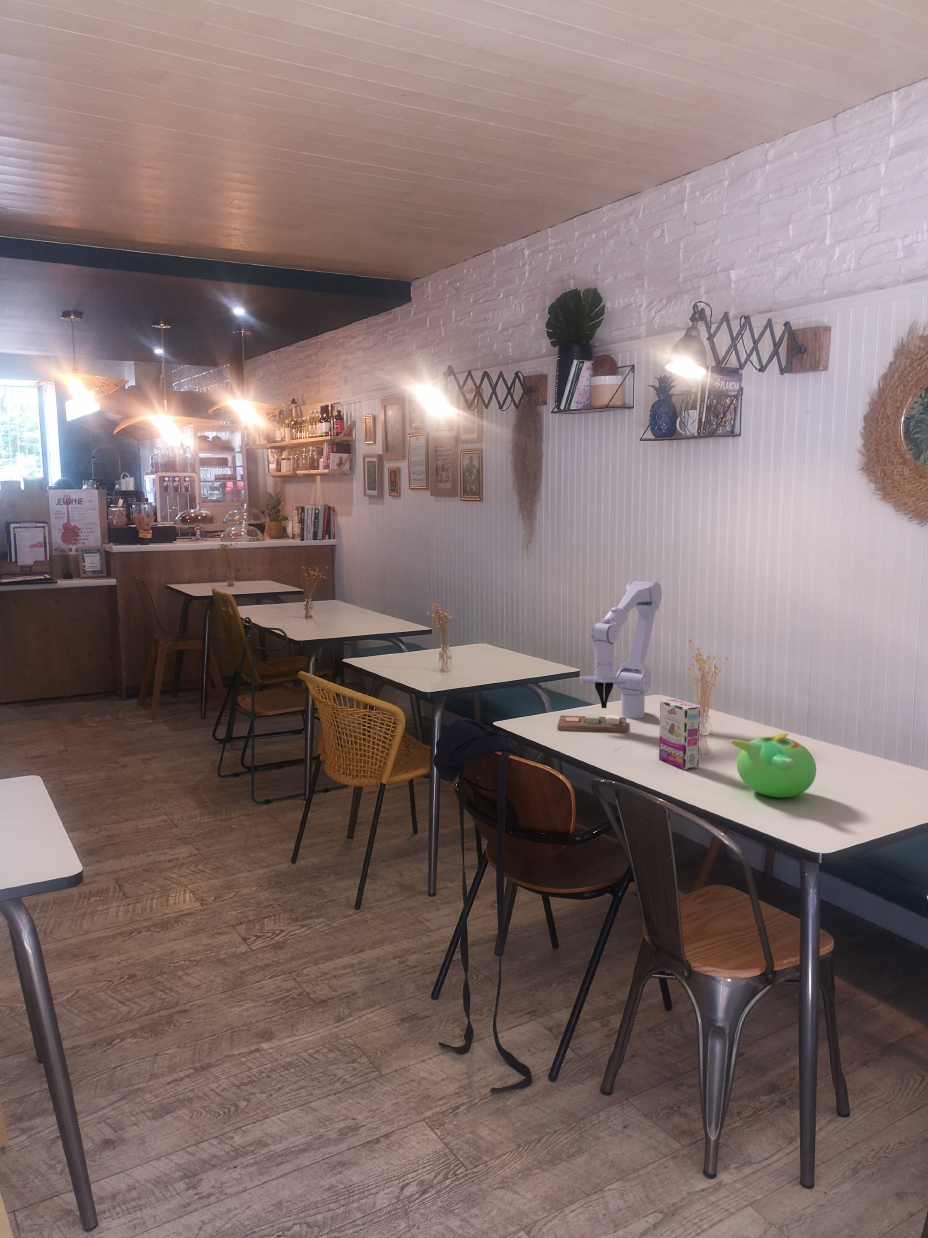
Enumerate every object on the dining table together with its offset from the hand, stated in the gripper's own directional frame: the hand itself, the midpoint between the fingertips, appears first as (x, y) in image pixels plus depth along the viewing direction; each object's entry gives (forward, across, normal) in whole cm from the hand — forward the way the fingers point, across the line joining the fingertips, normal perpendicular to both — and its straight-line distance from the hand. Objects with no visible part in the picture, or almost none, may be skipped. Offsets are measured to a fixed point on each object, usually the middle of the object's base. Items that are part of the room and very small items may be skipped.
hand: (604, 707), depth 274 cm
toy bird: (+8, +42, -52) cm, 67 cm away
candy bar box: (+8, +21, -30) cm, 37 cm away
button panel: (+7, -4, 0) cm, 8 cm away
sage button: (+6, -4, 0) cm, 7 cm away
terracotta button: (+7, -10, 0) cm, 12 cm away
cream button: (+6, +2, 0) cm, 6 cm away
